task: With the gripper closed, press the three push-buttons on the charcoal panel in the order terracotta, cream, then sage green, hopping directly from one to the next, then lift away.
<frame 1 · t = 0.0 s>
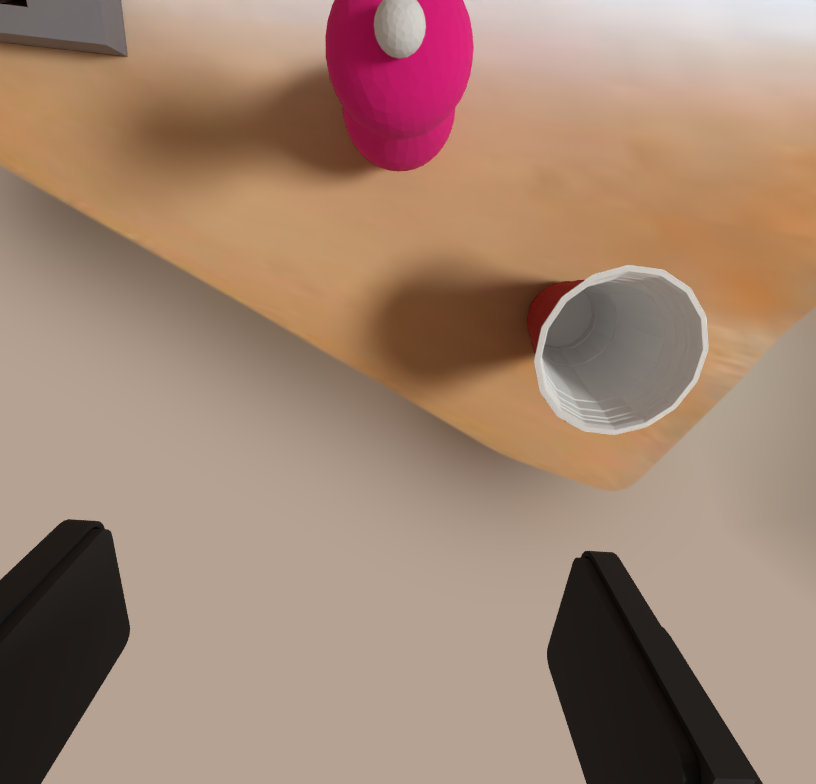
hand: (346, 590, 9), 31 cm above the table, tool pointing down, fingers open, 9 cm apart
plastic cup: (559, 312, 39), on the table
pepper mill: (398, 120, 33), on the table
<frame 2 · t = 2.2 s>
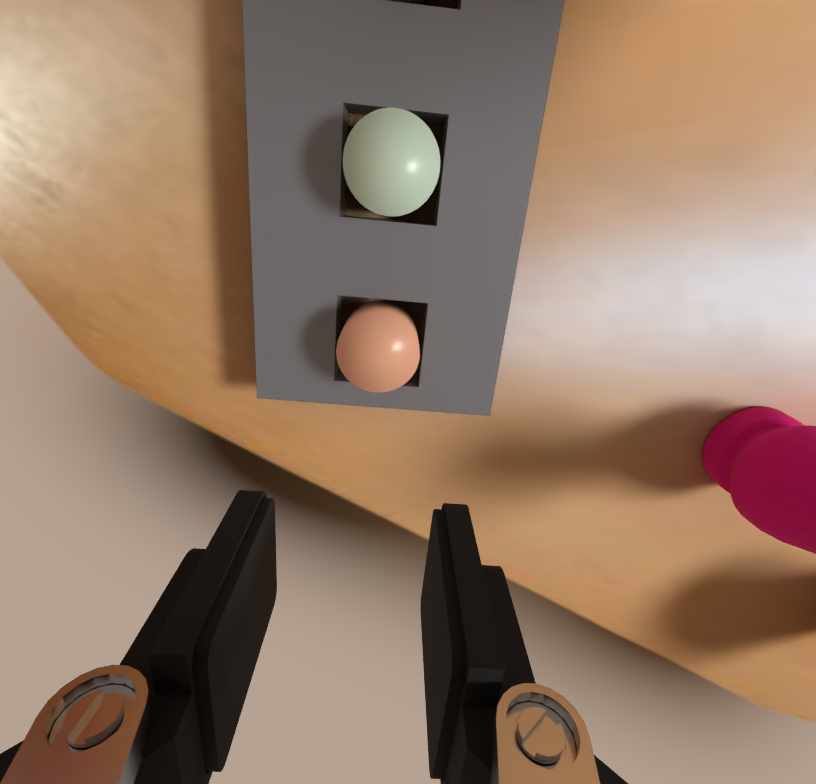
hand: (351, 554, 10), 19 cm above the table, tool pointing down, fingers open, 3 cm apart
terracotta button: (379, 345, 25), point 3 cm above the table, slide at 0.0 cm
button panel: (392, 170, 25), on the table
pepper mill: (744, 445, 32), on the table
sage button: (392, 166, 22), point 3 cm above the table, slide at 0.0 cm
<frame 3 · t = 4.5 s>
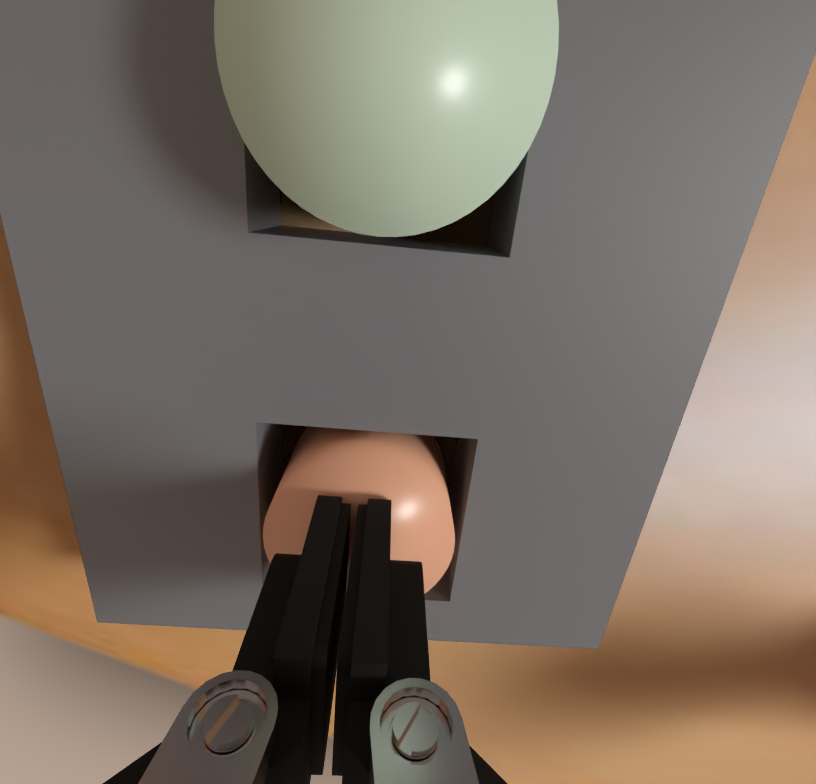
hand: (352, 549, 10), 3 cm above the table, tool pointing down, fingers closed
terracotta button: (364, 502, 12), point 2 cm above the table, slide at 1.2 cm, touching gripper
button panel: (393, 116, 10), on the table
sage button: (390, 84, 7), point 3 cm above the table, slide at 0.0 cm
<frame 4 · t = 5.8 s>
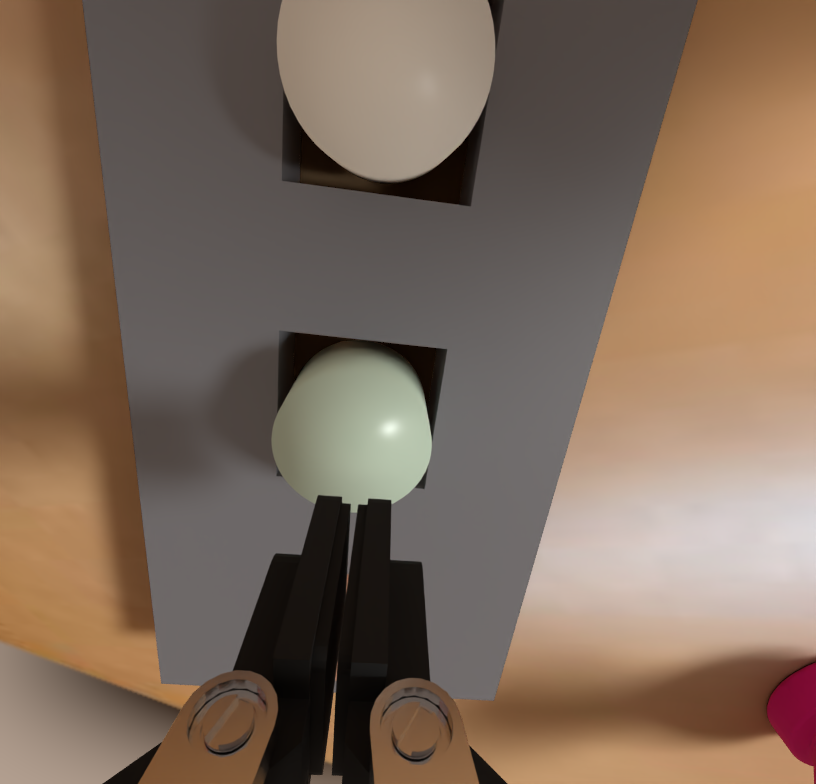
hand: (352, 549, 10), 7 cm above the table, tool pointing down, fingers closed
terracotta button: (340, 607, 18), point 2 cm above the table, slide at 1.2 cm
button panel: (362, 386, 17), on the table
cream button: (387, 76, 11), point 3 cm above the table, slide at 0.0 cm
sage button: (356, 422, 14), point 3 cm above the table, slide at 0.0 cm
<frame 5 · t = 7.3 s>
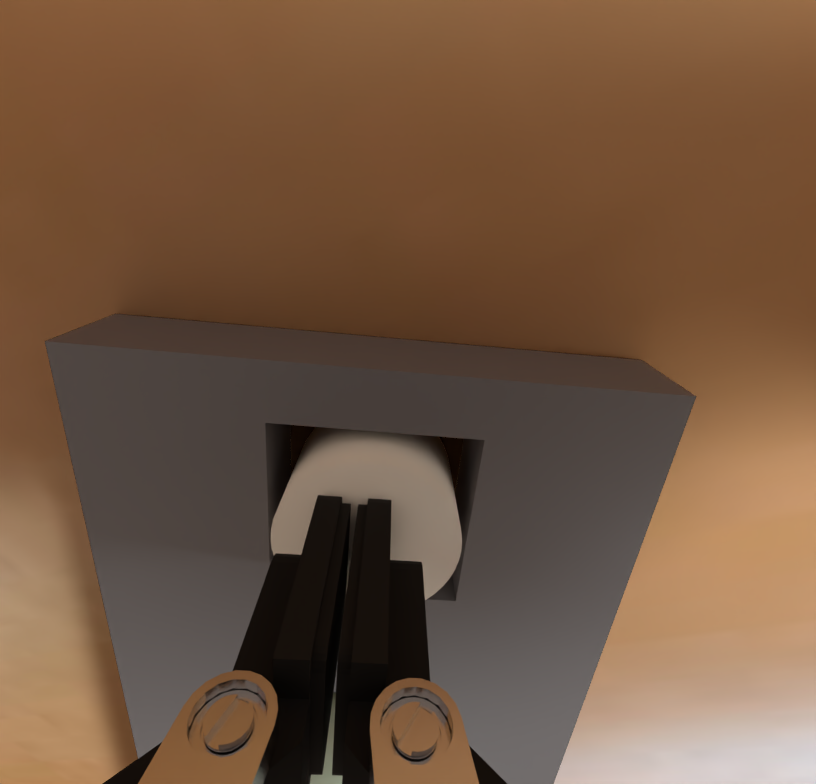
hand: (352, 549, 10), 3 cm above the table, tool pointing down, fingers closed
button panel: (359, 671, 17), on the table
cream button: (371, 505, 12), point 2 cm above the table, slide at 1.1 cm, touching gripper
sage button: (351, 762, 14), point 3 cm above the table, slide at 0.0 cm
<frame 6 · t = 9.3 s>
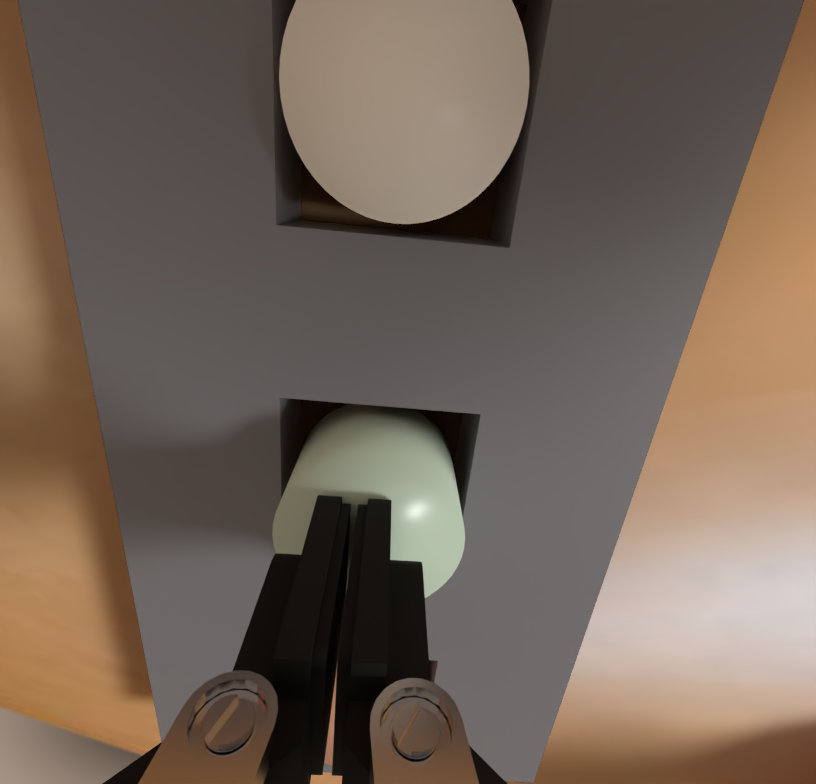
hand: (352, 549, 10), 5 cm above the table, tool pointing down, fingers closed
terracotta button: (359, 684, 16), point 2 cm above the table, slide at 1.2 cm
button panel: (379, 443, 15), on the table
cream button: (404, 107, 9), point 2 cm above the table, slide at 1.2 cm
sage button: (373, 501, 12), point 3 cm above the table, slide at 0.0 cm, touching gripper
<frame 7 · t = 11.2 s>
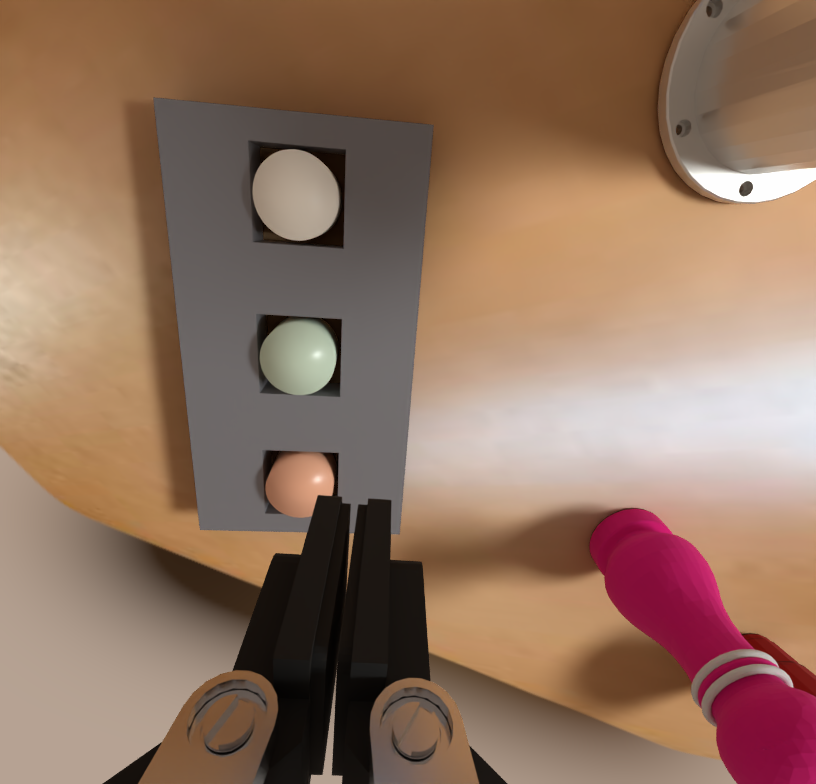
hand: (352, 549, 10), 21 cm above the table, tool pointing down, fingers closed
terracotta button: (302, 478, 32), point 2 cm above the table, slide at 1.2 cm
plastic cup: (740, 651, 44), on the table
button panel: (305, 346, 30), on the table
pepper mill: (624, 537, 38), on the table
cream button: (300, 197, 25), point 2 cm above the table, slide at 1.2 cm
sage button: (301, 353, 28), point 2 cm above the table, slide at 1.2 cm
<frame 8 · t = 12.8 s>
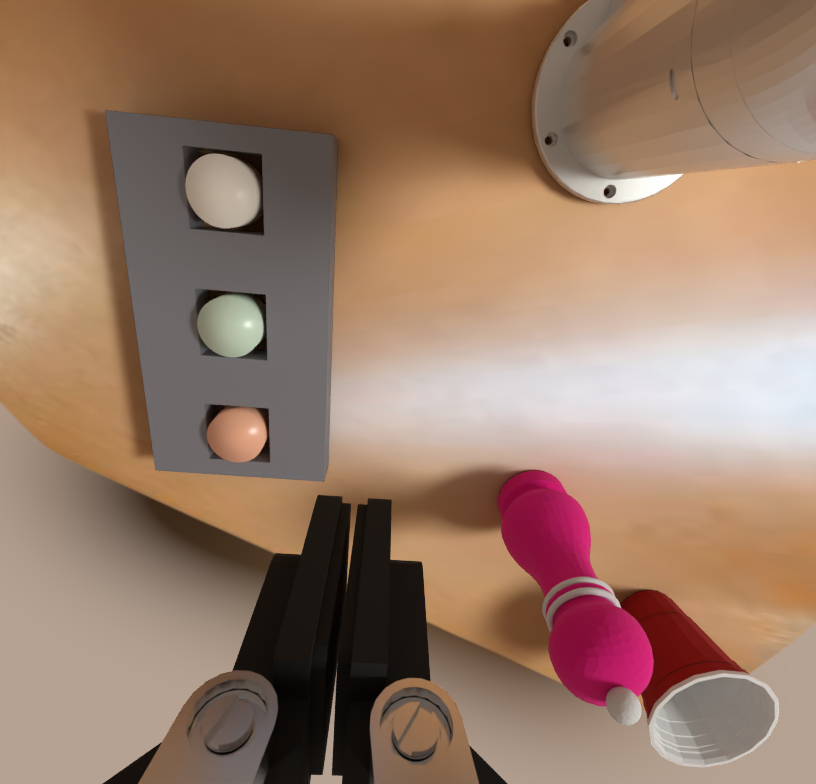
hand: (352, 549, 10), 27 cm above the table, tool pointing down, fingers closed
terracotta button: (241, 429, 37), point 2 cm above the table, slide at 1.2 cm
plastic cup: (643, 606, 49), on the table
button panel: (242, 317, 36), on the table
pepper mill: (529, 496, 43), on the table
cream button: (228, 192, 31), point 2 cm above the table, slide at 1.2 cm
sage button: (235, 323, 34), point 2 cm above the table, slide at 1.2 cm
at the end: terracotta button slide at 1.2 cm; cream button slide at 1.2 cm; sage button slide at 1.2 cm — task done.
